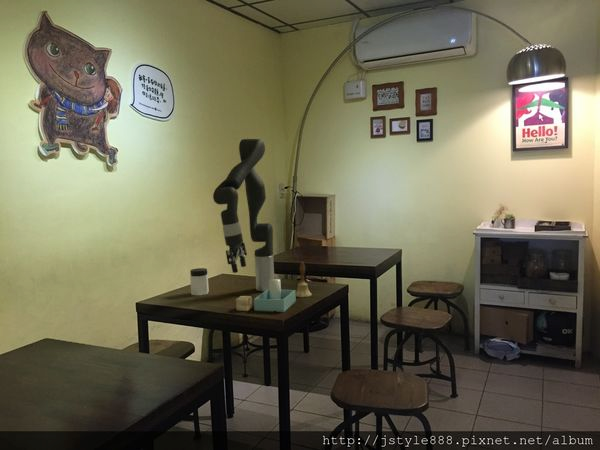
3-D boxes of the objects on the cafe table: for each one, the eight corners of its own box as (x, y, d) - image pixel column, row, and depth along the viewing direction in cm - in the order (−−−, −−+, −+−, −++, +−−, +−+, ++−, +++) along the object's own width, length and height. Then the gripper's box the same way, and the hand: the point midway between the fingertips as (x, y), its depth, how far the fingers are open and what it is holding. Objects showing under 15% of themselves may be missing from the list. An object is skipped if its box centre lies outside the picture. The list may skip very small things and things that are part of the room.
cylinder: (272, 300, 213) (271, 278, 213) (283, 300, 212) (282, 278, 211) (268, 303, 209) (267, 280, 208) (279, 303, 207) (278, 280, 206)
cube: (241, 307, 207) (240, 296, 206) (252, 307, 205) (251, 296, 205) (236, 310, 202) (236, 299, 201) (247, 311, 200) (246, 299, 200)
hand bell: (303, 292, 229) (301, 259, 228) (315, 294, 223) (314, 261, 222) (290, 295, 223) (289, 262, 222) (303, 298, 217) (301, 264, 216)
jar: (207, 295, 230) (205, 271, 229) (190, 296, 230) (188, 271, 229) (209, 291, 239) (208, 267, 238) (193, 291, 239) (192, 268, 238)
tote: (268, 300, 217) (267, 289, 216) (295, 301, 213) (295, 290, 212) (254, 310, 200) (253, 299, 200) (284, 311, 196) (283, 300, 196)
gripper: (233, 236, 196) (240, 274, 198) (247, 228, 209) (254, 264, 212) (217, 238, 198) (224, 275, 201) (232, 230, 211) (238, 265, 214)
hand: (239, 269), depth 206 cm, fingers open, 8 cm apart
